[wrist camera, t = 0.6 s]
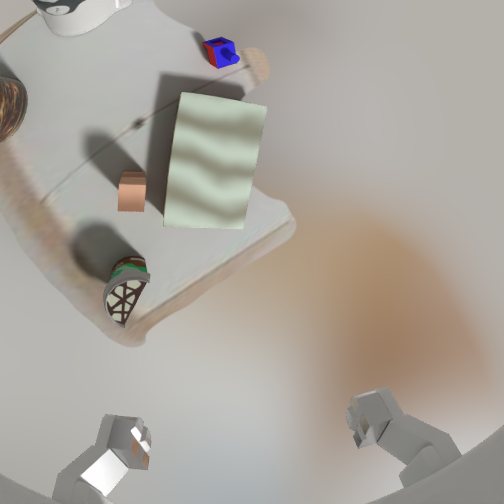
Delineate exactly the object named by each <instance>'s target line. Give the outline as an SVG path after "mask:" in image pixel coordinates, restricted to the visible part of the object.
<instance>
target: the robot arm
mask: <svg viewBox="0 0 504 504" xmlns="http://www.w3.org/2000/svg"><path fill="white" fill-rule="evenodd" d="M32 1H33V2H34V3H35V4H36V5H37V12H38V14H39V15H41V16H42V17H44V18H45V20H46V23H47V25H48V27H49V29H50V30H51V31H52V32H54V33H55V34H58V35H61V36H74V35H79V34H83V33H85V32H88V31H90V30H92V29H94V28H96V27H97V26H99V25H100V24H102V23H103V22H104V21H106V20H107V19H108V18H109V17H110V16H111V15H112V14H113V13H115V12H116V11H118V10H121V9H123V8H125V7H127V6H129V5H130V4H131V3H132V1H133V0H32ZM350 403H351V406H350V407H349V408H348V409H347V413H346V415H347V422H348V425H349V428H350V429H352V430H353V431H355V433H354V435H353V437H354V440H355V442H356V445H357V447H358V449H359V448H362V447H366V446H369V445H372V444H375V443H377V445H379V446H380V447H382V448H383V449H384V450H386V451H387V452H389V453H390V454H391V455H393V456H394V457H396V458H397V459H399V460H400V461H402V462H403V463H405V464H406V465H407V466H406V467H405V469H404V470H403V471H402V472H401V473H400V475H399V477H400V480H401V482H402V484H403V487H404V488H403V489H401V490H399V491H397V492H394V493H392V494H390V495H387V496H385V497H382V498H380V499H377V500H375V501H372V502H369V503H366V504H504V425H503V426H502V427H500V428H499V429H498V430H497V431H496V432H494V433H493V434H492V435H491V436H489V437H488V438H487V439H485V440H484V441H483V442H481V443H480V444H479V445H477V446H476V447H474V448H473V449H472V450H470V451H469V452H467V453H466V454H464V455H463V456H462V455H461V453H460V451H459V450H458V448H457V446H456V445H455V443H454V442H453V440H452V438H451V437H450V435H449V434H447V433H445V432H443V431H441V430H439V429H437V428H435V427H432V426H430V425H428V424H426V423H424V422H422V421H420V420H418V419H416V418H414V417H412V416H410V415H408V414H406V415H404V413H403V412H402V410H401V408H400V407H399V405H398V403H397V402H396V400H395V398H394V397H393V395H392V393H391V392H390V390H389V389H388V388H387V387H384V388H381V389H378V390H374V391H370V392H367V393H364V394H361V395H357V396H353V397H352V398H351V400H350ZM143 424H144V422H143V420H142V419H141V418H138V417H125V416H117V415H108V414H105V416H104V417H103V419H102V423H101V426H100V429H99V433H98V436H97V440H96V443H95V446H93V445H92V446H91V447H90V448H88V449H87V450H86V451H85V452H84V453H82V454H81V455H80V456H79V457H78V458H77V459H75V461H73V462H72V463H71V464H70V465H68V466H67V467H66V468H65V469H63V470H62V471H61V472H60V473H59V474H58V476H57V480H56V484H55V488H54V492H53V496H52V499H51V498H49V497H46V496H44V495H42V494H40V493H37V492H35V491H33V490H31V489H29V488H27V487H25V486H23V485H21V484H19V483H16V482H15V481H13V480H11V479H9V478H7V477H6V476H4V475H2V474H0V504H115V503H114V502H112V501H111V500H110V499H108V498H107V497H106V496H107V495H108V494H109V492H110V491H111V490H112V489H113V488H114V486H115V485H116V484H117V483H118V482H119V480H120V479H121V478H122V477H123V476H124V475H125V473H126V472H127V471H128V470H129V469H128V468H132V469H141V470H148V464H149V456H148V454H147V453H146V452H147V451H148V450H149V449H150V448H151V435H150V432H149V430H148V428H146V427H145V426H143Z"/></svg>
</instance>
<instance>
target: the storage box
mask: <svg viewBox="0 0 504 504" xmlns="http://www.w3.org/2000/svg"><path fill="white" fill-rule="evenodd" d="M266 112H267V107H265V106H260V105H256V104H251V103H247V102H242V101H237V100H232V99H226V98H221V97H215V96H209V95H202V94H195V93H187V92H181V96H179V101H178V107H177V112H176V118H175V124H174V130H173V136H172V142H171V149H170V157H169V164H168V172H167V181H166V190H165V199H164V210H163V217H164V222H163V227H192V228H224V229H243V227H244V221H245V216H246V211H247V206H248V201H249V196H250V191H251V186H252V180H253V176H254V171H255V166H256V161H257V155H258V151H259V146H260V141H261V136H262V131H263V127H264V122H265V117H266Z"/></svg>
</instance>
